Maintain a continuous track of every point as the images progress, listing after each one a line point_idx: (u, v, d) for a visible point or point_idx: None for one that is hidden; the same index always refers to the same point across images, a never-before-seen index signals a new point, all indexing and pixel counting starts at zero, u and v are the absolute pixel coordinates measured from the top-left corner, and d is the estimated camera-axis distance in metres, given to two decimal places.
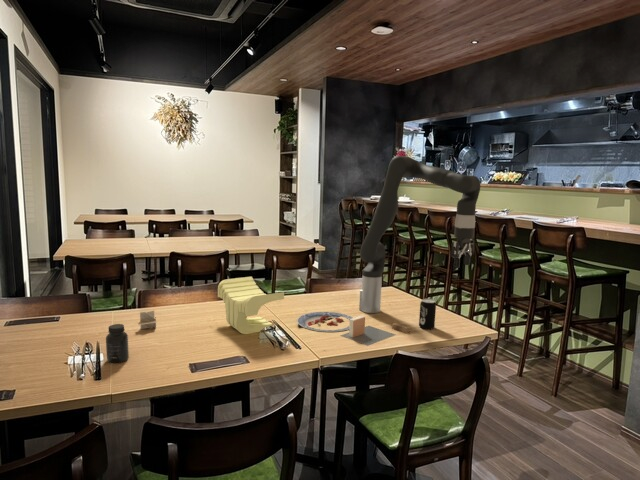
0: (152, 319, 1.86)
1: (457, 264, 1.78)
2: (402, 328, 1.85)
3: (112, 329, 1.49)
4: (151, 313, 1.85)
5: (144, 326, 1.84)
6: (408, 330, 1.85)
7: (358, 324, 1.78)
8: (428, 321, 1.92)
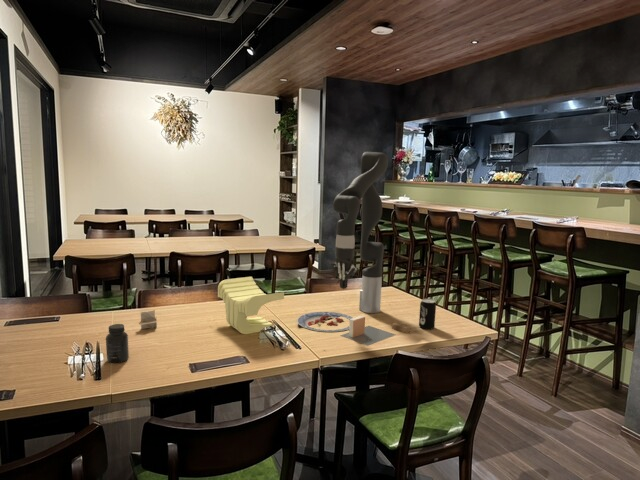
0: (153, 319, 1.86)
1: None
2: (402, 328, 1.85)
3: (112, 329, 1.50)
4: (152, 313, 1.85)
5: (145, 326, 1.84)
6: (408, 330, 1.85)
7: (358, 324, 1.78)
8: (428, 321, 1.92)
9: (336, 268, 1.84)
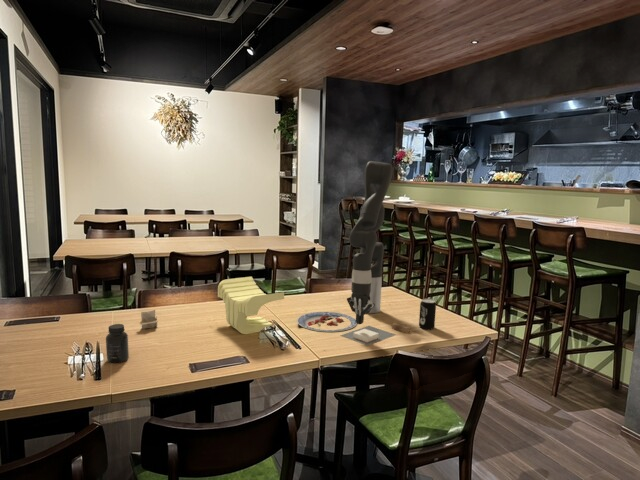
0: (153, 319, 1.86)
1: None
2: (402, 328, 1.85)
3: (112, 329, 1.49)
4: (152, 313, 1.86)
5: (145, 326, 1.85)
6: (408, 330, 1.85)
7: None
8: (428, 321, 1.92)
9: (352, 303, 1.79)
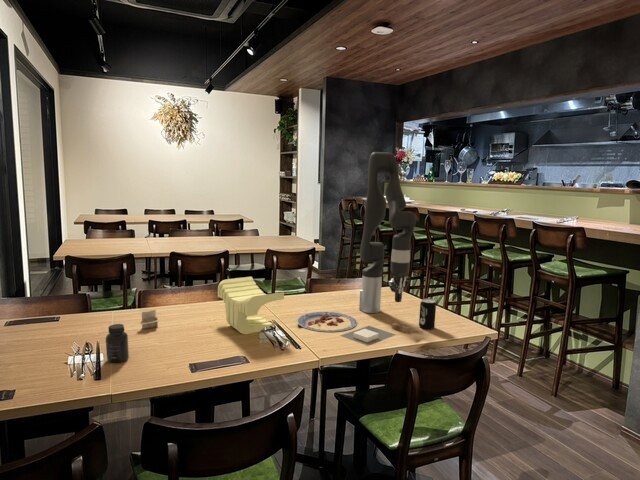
0: (153, 318, 1.87)
1: None
2: (402, 328, 1.85)
3: (112, 329, 1.49)
4: (152, 312, 1.86)
5: (146, 325, 1.85)
6: (408, 330, 1.85)
7: None
8: (428, 321, 1.92)
9: None
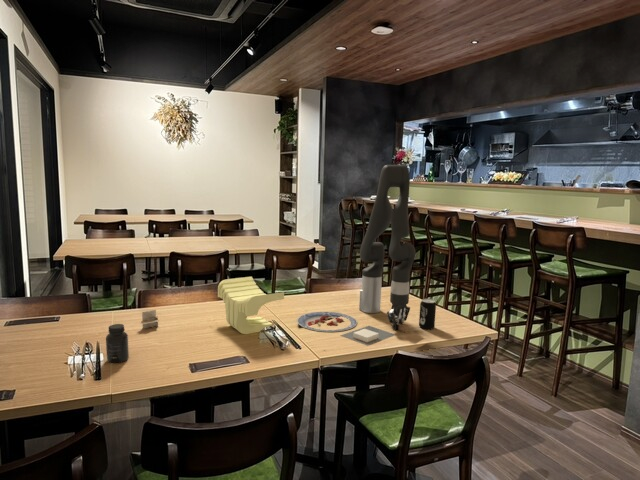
0: (154, 318, 1.87)
1: None
2: (401, 327, 1.85)
3: (112, 329, 1.50)
4: (153, 312, 1.86)
5: (146, 325, 1.85)
6: (408, 328, 1.85)
7: None
8: (428, 321, 1.92)
9: None
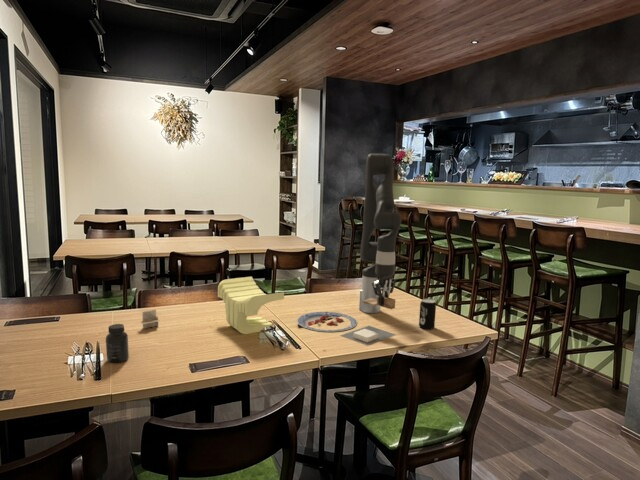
0: (154, 318, 1.87)
1: None
2: (387, 300, 1.78)
3: (112, 329, 1.50)
4: (153, 312, 1.87)
5: (146, 325, 1.85)
6: (394, 302, 1.78)
7: None
8: (428, 321, 1.92)
9: None
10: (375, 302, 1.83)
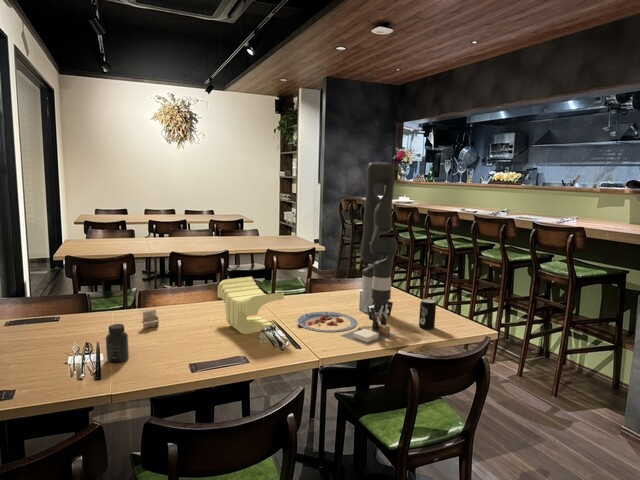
0: (154, 318, 1.87)
1: None
2: (382, 328, 1.80)
3: (112, 329, 1.50)
4: (153, 312, 1.87)
5: (147, 325, 1.86)
6: (388, 330, 1.80)
7: None
8: (428, 321, 1.92)
9: None
10: (370, 329, 1.85)
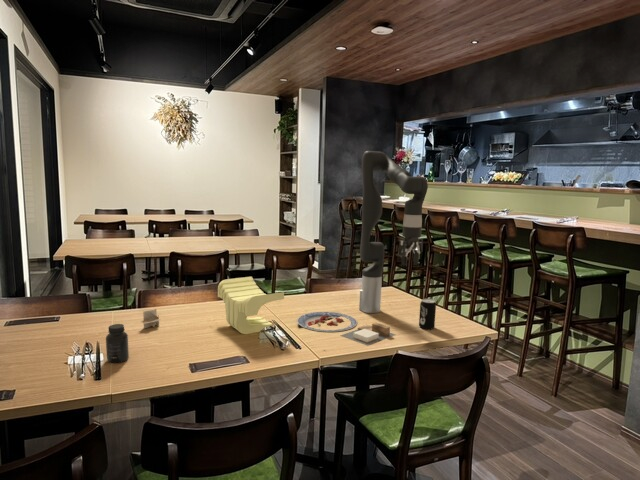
0: (154, 317, 1.88)
1: None
2: (382, 328, 1.80)
3: (112, 329, 1.50)
4: (153, 311, 1.87)
5: (147, 325, 1.86)
6: (388, 330, 1.80)
7: None
8: (428, 321, 1.92)
9: None
10: (370, 329, 1.85)
